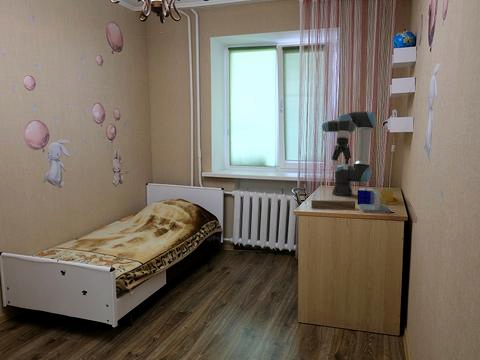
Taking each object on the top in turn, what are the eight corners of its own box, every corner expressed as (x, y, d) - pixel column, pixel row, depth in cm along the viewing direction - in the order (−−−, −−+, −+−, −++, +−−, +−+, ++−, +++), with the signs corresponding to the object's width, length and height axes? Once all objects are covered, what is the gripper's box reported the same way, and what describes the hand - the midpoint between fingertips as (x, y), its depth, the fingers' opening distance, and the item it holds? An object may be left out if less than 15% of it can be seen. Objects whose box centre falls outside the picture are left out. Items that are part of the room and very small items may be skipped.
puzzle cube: (357, 204, 275) (357, 190, 274) (359, 201, 285) (359, 187, 283) (372, 205, 271) (373, 190, 270) (374, 202, 280) (374, 188, 279)
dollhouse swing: (386, 205, 272) (387, 191, 271) (379, 202, 281) (379, 189, 280) (400, 204, 274) (401, 191, 273) (392, 201, 283) (392, 188, 282)
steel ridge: (370, 204, 268) (370, 189, 266) (374, 204, 267) (375, 189, 266) (374, 209, 250) (374, 194, 249) (379, 210, 250) (380, 194, 248)
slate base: (360, 206, 269) (360, 204, 269) (385, 206, 266) (385, 204, 266) (363, 212, 251) (363, 209, 251) (390, 212, 249) (390, 210, 249)
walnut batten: (311, 207, 270) (311, 199, 269) (354, 208, 265) (354, 200, 264) (311, 208, 266) (311, 200, 265) (355, 209, 261) (355, 201, 260)
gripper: (328, 139, 278) (325, 169, 277) (347, 135, 254) (344, 168, 253) (338, 140, 280) (335, 170, 280) (358, 136, 256) (355, 169, 256)
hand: (340, 169), depth 267 cm, fingers open, 13 cm apart
